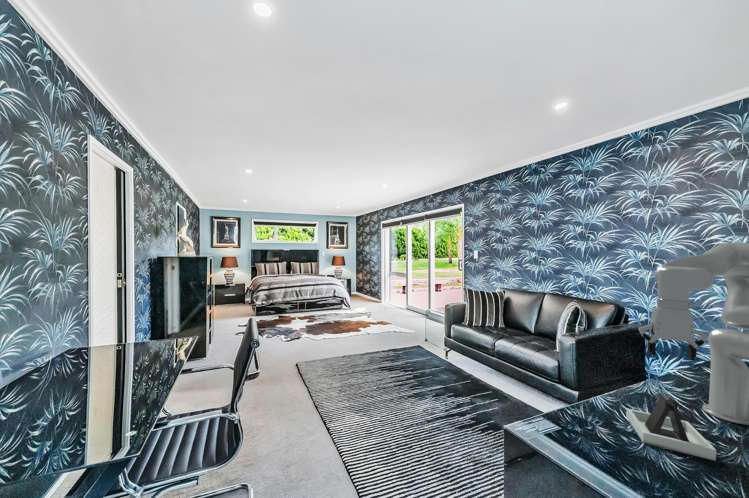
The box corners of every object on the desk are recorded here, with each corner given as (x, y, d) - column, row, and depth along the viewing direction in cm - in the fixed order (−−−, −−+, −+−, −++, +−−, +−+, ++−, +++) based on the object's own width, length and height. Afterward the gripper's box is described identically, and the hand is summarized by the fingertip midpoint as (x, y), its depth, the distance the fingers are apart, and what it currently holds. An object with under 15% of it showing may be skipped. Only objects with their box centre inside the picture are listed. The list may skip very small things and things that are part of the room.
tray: (687, 430, 102) (687, 421, 102) (715, 460, 87) (716, 450, 87) (626, 416, 109) (626, 408, 109) (642, 442, 94) (643, 432, 94)
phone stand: (681, 434, 99) (682, 396, 99) (689, 443, 93) (691, 404, 93) (644, 425, 103) (646, 389, 103) (650, 434, 97) (652, 396, 97)
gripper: (701, 305, 102) (700, 357, 102) (635, 300, 109) (634, 349, 109) (715, 309, 95) (713, 365, 95) (643, 304, 103) (641, 355, 103)
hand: (671, 356), depth 102 cm, fingers open, 9 cm apart
